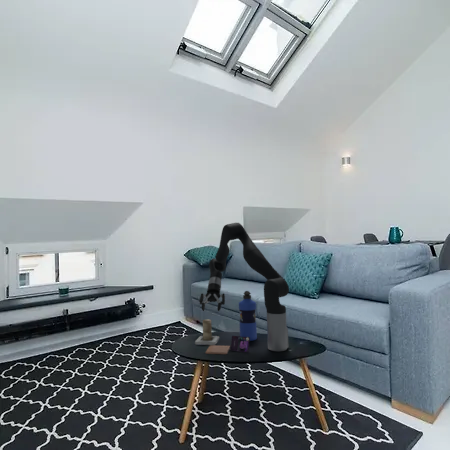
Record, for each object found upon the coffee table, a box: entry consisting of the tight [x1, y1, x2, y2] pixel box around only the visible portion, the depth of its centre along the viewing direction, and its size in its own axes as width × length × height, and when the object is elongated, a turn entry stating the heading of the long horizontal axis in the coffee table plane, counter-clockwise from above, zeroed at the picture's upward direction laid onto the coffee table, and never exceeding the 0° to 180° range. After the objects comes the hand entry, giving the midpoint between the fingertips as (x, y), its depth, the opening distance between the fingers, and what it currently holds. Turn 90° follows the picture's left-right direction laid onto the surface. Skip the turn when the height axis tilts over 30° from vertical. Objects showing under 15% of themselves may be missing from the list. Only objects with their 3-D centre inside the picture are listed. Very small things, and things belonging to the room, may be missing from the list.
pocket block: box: [194, 335, 220, 346], centre depth 174 cm, size 10×10×2 cm
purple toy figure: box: [230, 335, 251, 353], centre depth 161 cm, size 7×5×9 cm
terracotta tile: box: [205, 344, 231, 355], centre depth 160 cm, size 10×10×1 cm
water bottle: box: [238, 290, 258, 342], centre depth 179 cm, size 9×9×25 cm
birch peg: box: [202, 318, 213, 341], centre depth 175 cm, size 4×4×11 cm
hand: (210, 310), depth 184 cm, fingers open, 8 cm apart
